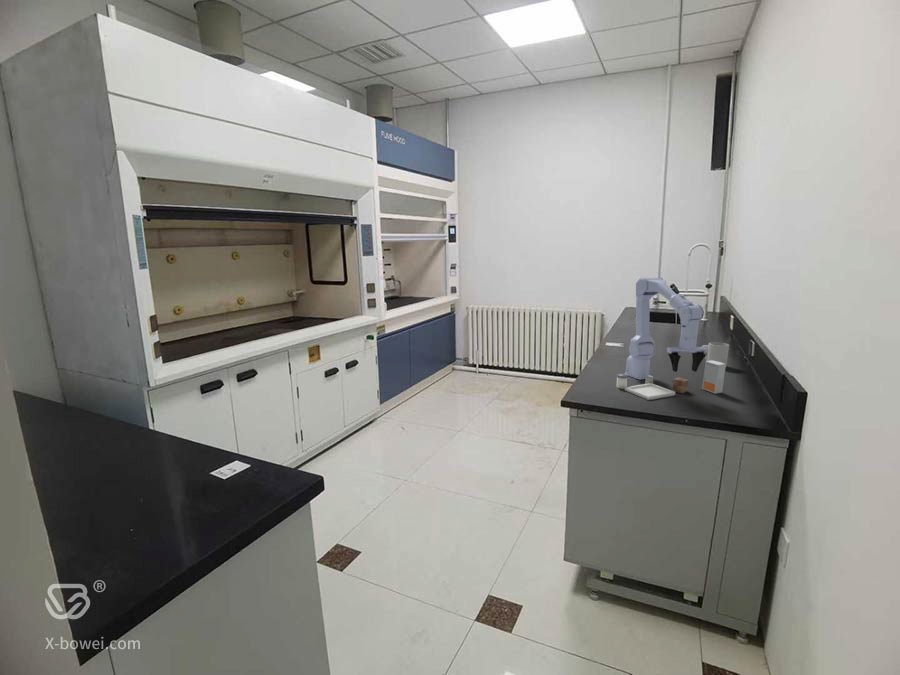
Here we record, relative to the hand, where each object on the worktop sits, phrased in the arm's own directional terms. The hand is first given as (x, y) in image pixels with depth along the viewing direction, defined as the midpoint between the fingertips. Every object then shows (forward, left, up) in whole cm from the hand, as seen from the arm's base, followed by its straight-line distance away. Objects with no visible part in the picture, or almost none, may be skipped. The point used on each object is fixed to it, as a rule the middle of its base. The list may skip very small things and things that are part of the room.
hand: (684, 370), depth 172 cm
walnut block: (-4, +3, -10) cm, 11 cm away
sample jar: (-17, -15, -10) cm, 24 cm away
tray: (-7, -10, -10) cm, 15 cm away
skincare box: (+1, +15, -10) cm, 19 cm away
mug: (-25, +49, -10) cm, 56 cm away
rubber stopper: (-15, -2, -10) cm, 18 cm away
